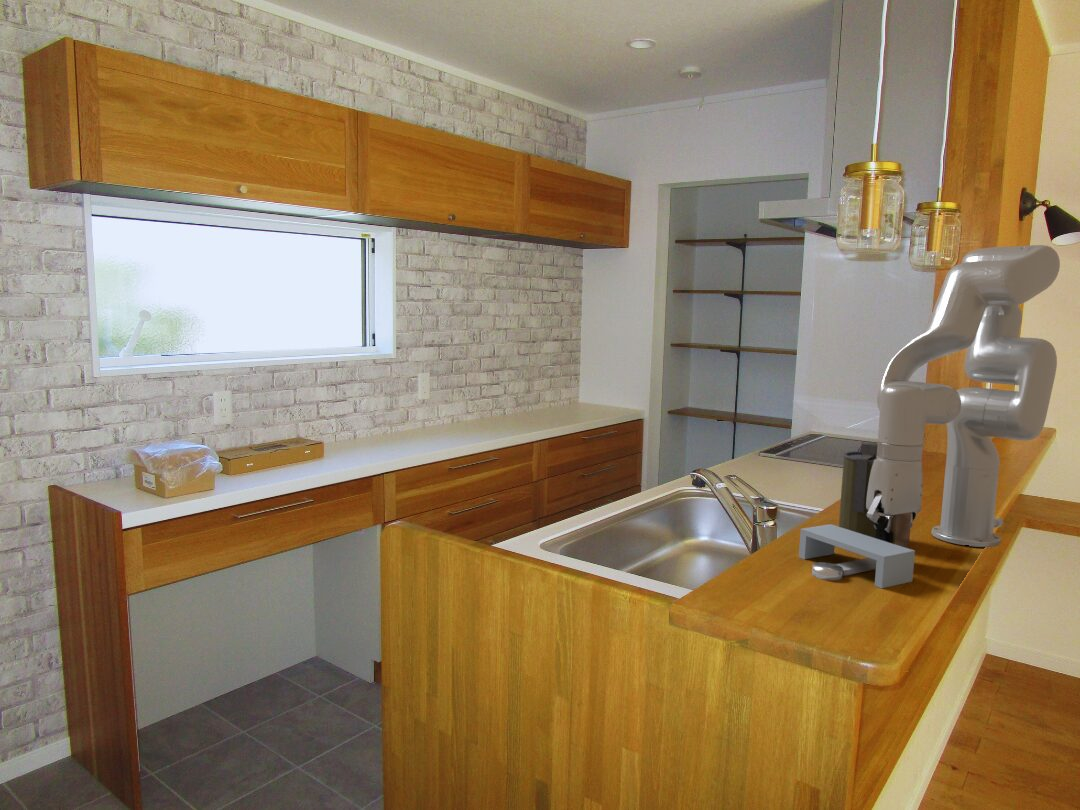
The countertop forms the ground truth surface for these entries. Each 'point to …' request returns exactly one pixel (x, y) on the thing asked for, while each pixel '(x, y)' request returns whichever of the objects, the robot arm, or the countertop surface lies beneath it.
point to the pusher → (899, 538)
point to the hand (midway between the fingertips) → (891, 548)
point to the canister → (857, 489)
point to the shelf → (860, 552)
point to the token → (827, 571)
